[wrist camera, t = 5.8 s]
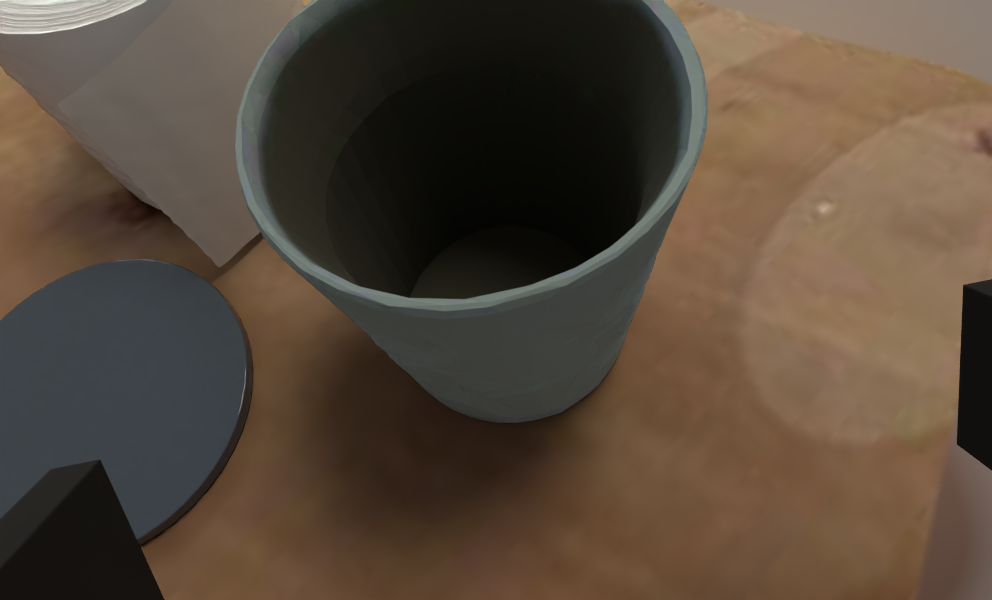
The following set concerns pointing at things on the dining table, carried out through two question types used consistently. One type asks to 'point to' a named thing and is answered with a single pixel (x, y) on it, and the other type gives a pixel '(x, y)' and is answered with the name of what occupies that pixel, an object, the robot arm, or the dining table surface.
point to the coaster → (124, 386)
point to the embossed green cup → (477, 180)
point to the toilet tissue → (151, 95)
